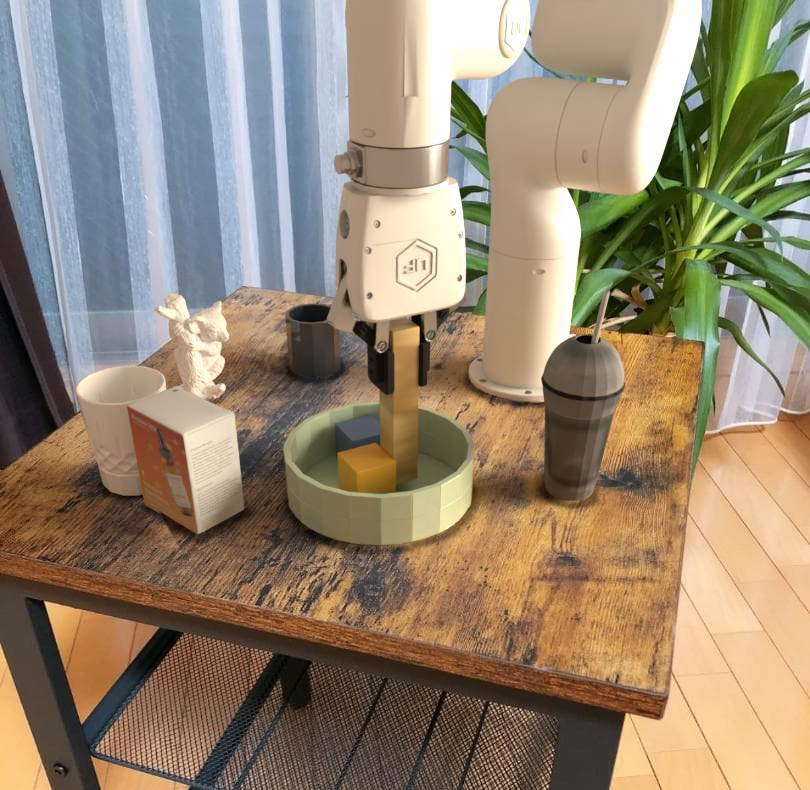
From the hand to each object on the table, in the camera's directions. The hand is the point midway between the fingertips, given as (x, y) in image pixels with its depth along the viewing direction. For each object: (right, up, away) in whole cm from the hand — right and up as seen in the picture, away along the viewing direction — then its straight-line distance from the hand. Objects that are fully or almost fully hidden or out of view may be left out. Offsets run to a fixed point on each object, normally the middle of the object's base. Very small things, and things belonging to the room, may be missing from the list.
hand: (398, 382), depth 80 cm
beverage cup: (+16, -9, +7) cm, 20 cm away
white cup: (-25, -8, +8) cm, 28 cm away
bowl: (-2, -10, +6) cm, 11 cm away
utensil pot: (-10, +6, +28) cm, 31 cm away
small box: (-19, -11, +4) cm, 22 cm away
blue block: (-4, -6, +10) cm, 12 cm away
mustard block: (-3, -10, +5) cm, 11 cm away
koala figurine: (-22, +2, +23) cm, 32 cm away
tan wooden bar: (0, -8, +6) cm, 10 cm away
